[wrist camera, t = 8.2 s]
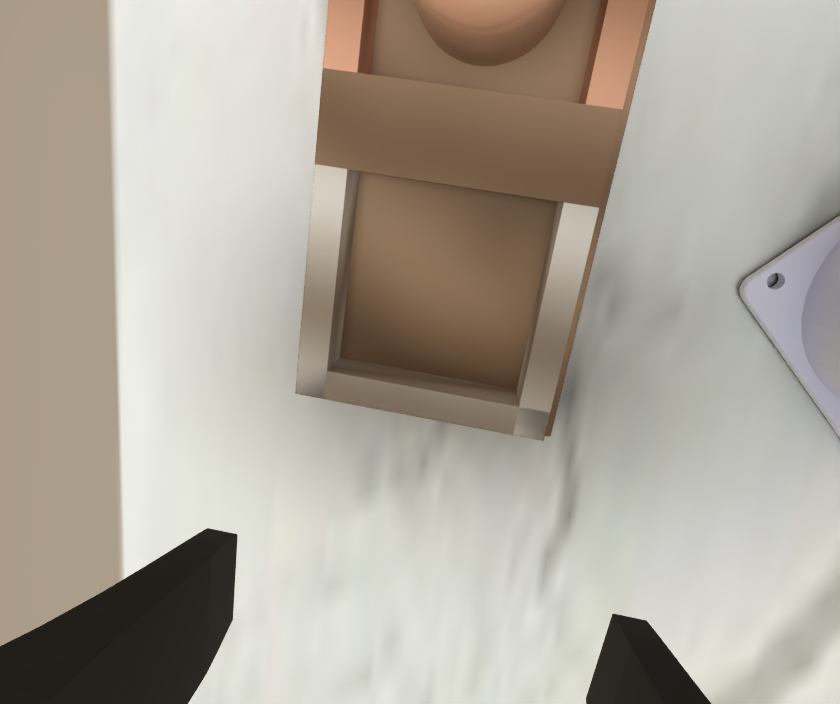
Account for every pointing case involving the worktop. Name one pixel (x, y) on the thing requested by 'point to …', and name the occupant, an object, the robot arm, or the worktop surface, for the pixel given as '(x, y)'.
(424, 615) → the worktop surface
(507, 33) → the tube
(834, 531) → the worktop surface
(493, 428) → the tray
